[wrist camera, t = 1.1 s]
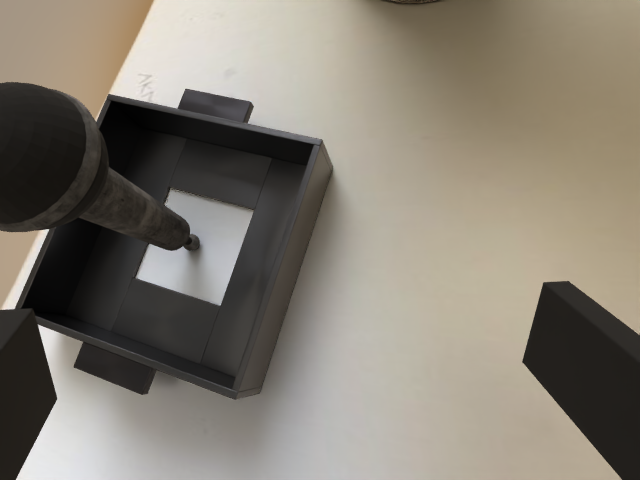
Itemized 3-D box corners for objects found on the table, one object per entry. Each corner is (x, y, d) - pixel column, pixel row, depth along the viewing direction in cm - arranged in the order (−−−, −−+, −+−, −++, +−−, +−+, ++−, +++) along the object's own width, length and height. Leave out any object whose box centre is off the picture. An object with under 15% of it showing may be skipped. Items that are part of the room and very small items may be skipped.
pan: (149, 105, 41) (116, 73, 36) (340, 146, 36) (330, 116, 32) (51, 340, 37) (1, 339, 32) (251, 418, 32) (225, 429, 28)
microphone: (142, 233, 38) (-131, 109, 18) (211, 188, 37) (7, 15, 18) (177, 303, 35) (-90, 244, 16) (250, 255, 35) (66, 139, 16)
